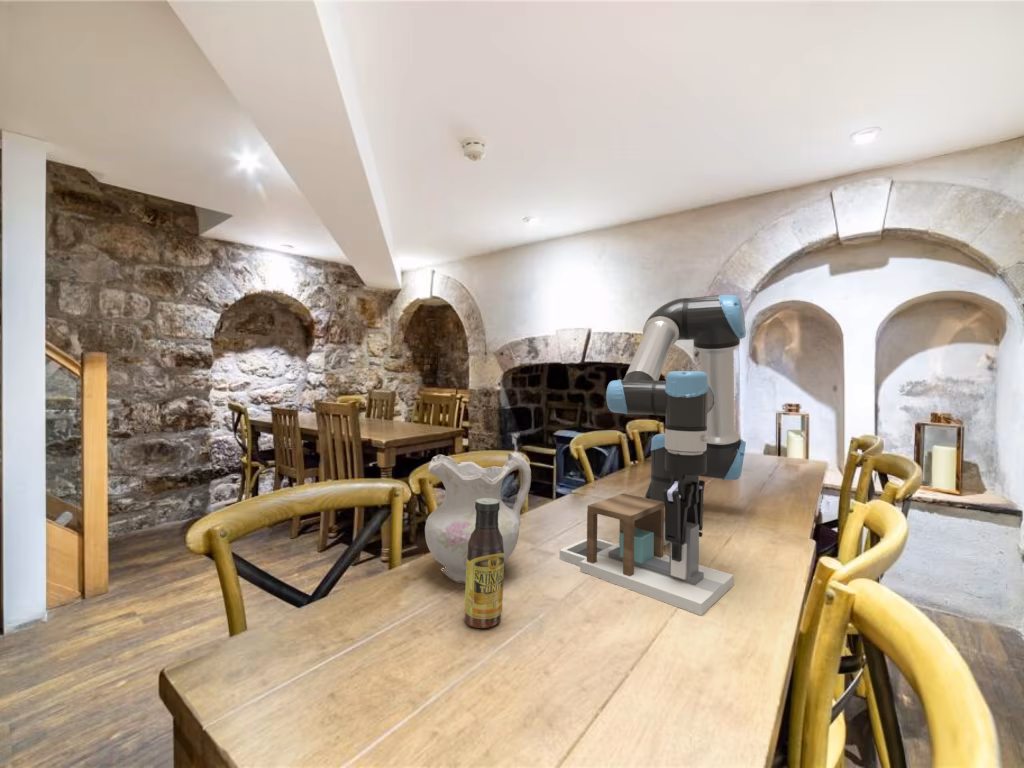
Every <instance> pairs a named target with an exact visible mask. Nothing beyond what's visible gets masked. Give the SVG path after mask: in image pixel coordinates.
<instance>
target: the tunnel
mask: <svg viewBox="0 0 1024 768" xmlns="http://www.w3.org/2000/svg"><path fill="white" fill-rule="evenodd" d="M586 512H587V513H586V538H587V562H589V563H592V564H593V563H595V562H597V539H598V515H600V516H604V517H608V518H612V519H616V520H619V537H618V538H619V540H618V541H619V542H618V543H619V546H620V532H622V531H624V532H623V574H624V575H627V576H629V577H630V576H632V575H633V574H634V528H638V529H642V530H646V531H649V532H653V533H654V556H656V557H659V558H661V557H663V554H664V546H663V544H664V502H662V501H657V500H652V499H647V498H645V497H641V496H639V495H638V496H636V495H631V494H627V493H621V494H617V495H614V496H612V497H608V498H606V499H603V500H600V501H597V502H593V503H591V504H589V505H587V511H586Z"/></svg>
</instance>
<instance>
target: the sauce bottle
mask: <svg viewBox="0 0 1024 768" xmlns="http://www.w3.org/2000/svg"><path fill="white" fill-rule="evenodd" d="M475 509H476V523H475V530H474V531H473V532H472V534H471V537H470V539H469V542H468V555H467V563H466V584H465V588H464V589H465V591H464V612H465V613H464V616H465V617H464V619H465V623H467V625H469V626H470V627H473V628H476V629H489V628H492V627H494V626H496V625H497V624H499V623H500V621H501V617H502V612H503V601H504V600H503V596H504V570H505V568H504V567H505V562H504V547H503V538H502V535H501V533H500V531H499V528H498V511H499V509H500V502H499V500H497V499H493V498H481V499H477V500H476V503H475Z"/></svg>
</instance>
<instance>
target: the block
mask: <svg viewBox="0 0 1024 768" xmlns="http://www.w3.org/2000/svg"><path fill="white" fill-rule="evenodd" d="M623 532H624V531H622V532H620V531H619V533H620V557H623ZM652 557H654V533H653V532H649V531H646V530H642V529H638V528H634V561H635V562H638V563H644V562H645V561H647V560H649V559H650V558H652Z"/></svg>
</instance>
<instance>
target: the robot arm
mask: <svg viewBox="0 0 1024 768" xmlns="http://www.w3.org/2000/svg"><path fill="white" fill-rule="evenodd" d="M744 313H745V312H744V308H743V303H742V300H741V297H739V296H738V295H734V294H718V295H717V294H716V295H707V296H704V295H703V296H694V297H683V298H681V297H680V298H677V299H673V300H671V301H668V302H667V303H664V304H663V305H661V306H660V307H659V308H657V309H656V310H655V311H653V313H651V315H649V317H648V318H647V320H646V321H645V323H644V325H643V328H642V338H641V341H640V343H639V345H638V347H637V350H636V351H635V354H634V356H633V357H632V358H633V359H632V360H631V363H630V365H629V367H628V369H627V370H626V374H625V375H624V378H623V379H617V380H616V379H615V380H611V381H610V382H609V383H608V385H607V388H606V391H605V392H606V395H605V399H606V405H607V408H608V409H609V411H610V412H611V413H615V414H616V413H617V414H625V415H644V416H645V415H647V416H648V415H651V416H652V415H653V416H654V415H655V416H665V424H664V425H665V428H664V433H657V434H655V435H654V436H652V438H651V445H650V481H649V485H648V487H647V489H646V493H645V496H644V498H647V499H652V500H657V501H662V502H664V506H665V540H666V541H669V542H668V543H670V542H671V575H672V576H675V577H678V578H681V579H686V569H687V544H686V543H684V541H685V531H686V522H690V523H694V524H698V525H699V538H702V537H703V532H701V531H702V530H703V529H704V528H703V522H704V520H703V519H704V491H705V485H706V481H705V480H701V479H700V477H701V478H709V479H719V480H723V481H725V480H729V481H730V480H732V481H737V480H738V479H739V478H741V476H742V471H743V463H744V459H745V451H746V447H747V446H746V445H747V443H746V441H745V440H743V439H741V434H740V432H738V431H737V430H736V429H735V373H734V372H735V369H734V368H735V367H734V364H735V362H734V357H735V356H734V355H735V354H734V351H735V350H736V349H737V348H738V347H739V346H740V343H741V342H740V340H741V339H745V337H746V335H747V334H746V332H747V331H746V321H745V314H744ZM682 340H683V341H688V340H689V341H690V340H692V341H693V348H694V349H696V350H697V351H698V352H699V366H700V367H699V368H700V371H699V370H698V371H696V370H693V371H691V370H687V371H685V370H680V371H679V370H678V371H677V370H676V371H675V370H674V371H669V372H668V373H667V374H666V379H665V380H659V379H660V377H661V374H662V371H663V368H664V366H665V364H666V362H667V358H668V356H669V352H670V350H671V347H672V346H673V345H675V343H676V342H677V341H682Z"/></svg>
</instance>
